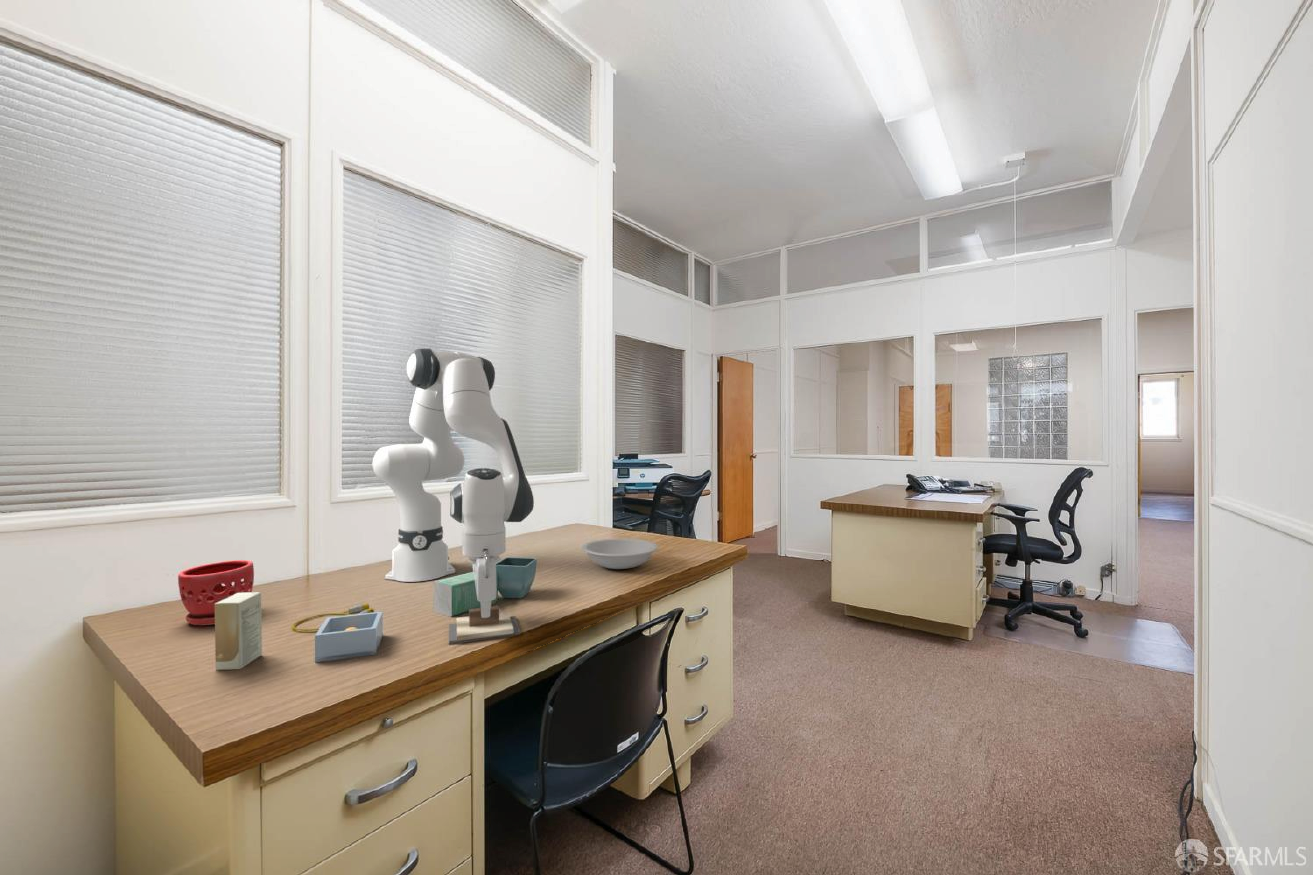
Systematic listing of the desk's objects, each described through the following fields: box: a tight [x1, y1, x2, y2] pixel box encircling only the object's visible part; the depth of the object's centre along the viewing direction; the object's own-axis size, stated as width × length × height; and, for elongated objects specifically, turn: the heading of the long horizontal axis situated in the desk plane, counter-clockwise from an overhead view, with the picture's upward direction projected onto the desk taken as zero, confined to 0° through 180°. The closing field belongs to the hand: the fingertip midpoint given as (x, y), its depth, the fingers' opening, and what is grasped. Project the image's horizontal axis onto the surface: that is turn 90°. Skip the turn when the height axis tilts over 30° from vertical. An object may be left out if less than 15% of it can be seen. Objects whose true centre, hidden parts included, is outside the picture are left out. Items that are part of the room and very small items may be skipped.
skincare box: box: [214, 591, 263, 671], centre depth 96 cm, size 6×4×12 cm
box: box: [433, 571, 499, 618], centre depth 127 cm, size 7×14×8 cm, turn 146°
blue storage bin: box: [314, 611, 384, 663], centre depth 103 cm, size 10×10×5 cm
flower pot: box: [495, 556, 538, 599], centre depth 135 cm, size 9×9×9 cm
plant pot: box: [177, 559, 255, 626], centre depth 118 cm, size 13×13×12 cm
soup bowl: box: [581, 537, 659, 570], centre depth 165 cm, size 24×24×7 cm
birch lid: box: [456, 605, 513, 641], centre depth 112 cm, size 11×11×4 cm
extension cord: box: [291, 603, 375, 634], centre depth 117 cm, size 12×16×2 cm
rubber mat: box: [448, 615, 522, 645], centre depth 112 cm, size 10×14×1 cm
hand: (484, 609), depth 112 cm, fingers open, 8 cm apart
